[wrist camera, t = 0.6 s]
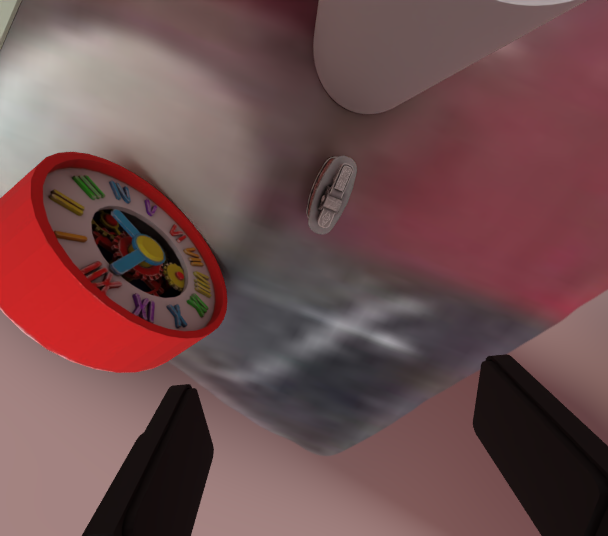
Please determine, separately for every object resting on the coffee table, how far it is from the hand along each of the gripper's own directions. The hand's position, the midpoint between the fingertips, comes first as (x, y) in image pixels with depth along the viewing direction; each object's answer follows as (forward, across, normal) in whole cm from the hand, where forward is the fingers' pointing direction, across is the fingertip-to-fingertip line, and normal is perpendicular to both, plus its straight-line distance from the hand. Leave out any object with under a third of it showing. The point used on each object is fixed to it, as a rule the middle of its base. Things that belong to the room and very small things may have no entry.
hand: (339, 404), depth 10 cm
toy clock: (+30, +17, 0) cm, 35 cm away
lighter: (+30, -2, -4) cm, 30 cm away
